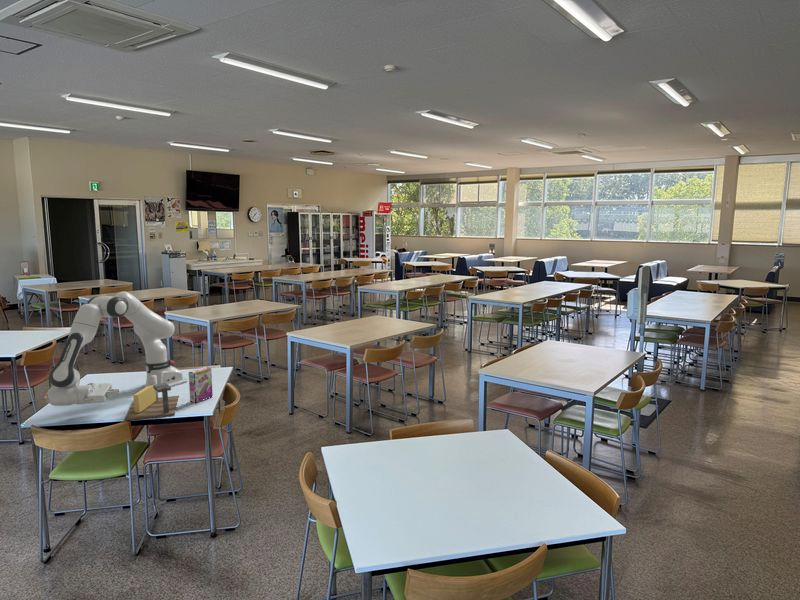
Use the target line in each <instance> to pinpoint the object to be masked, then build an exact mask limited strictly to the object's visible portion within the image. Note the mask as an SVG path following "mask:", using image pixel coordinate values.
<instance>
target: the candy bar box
mask: <svg viewBox="0 0 800 600" xmlns="http://www.w3.org/2000/svg"><path fill="white" fill-rule="evenodd" d="M212 376H213V375H212V367H207V366H204V367H201V368H197V369H194V370H190V371H188V383H189V384H188V386H189V402H190V401H192V402H191V403H193V402H197V403H199V402H198V401H200V402H202V401H201V400H203V399H206V398H209V397H212V396H213V382H212V381H213V380H212V379H213V377H212ZM212 398H213V397H212ZM209 399H210V398H209ZM206 400H207V399H206ZM203 401H204V400H203Z"/></svg>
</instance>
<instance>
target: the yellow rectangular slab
mask: <svg viewBox="0 0 800 600" xmlns="http://www.w3.org/2000/svg"><path fill="white" fill-rule="evenodd" d="M153 385H157V376H156V375H152V376H150V385H148V386H147V387H144V388H142V389H140V390H139V391H138V392H135V393H134V394H133V400H134V409H135V413H140V412H141V411H143V410H144V409H146V408H147V407H148V406H150V405H151V404H153V403H154V402H155V401H157V400H158V398H159V393H158V392H157V391H156V390H155V389H154V388H153Z"/></svg>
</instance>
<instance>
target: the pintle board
mask: <svg viewBox="0 0 800 600" xmlns="http://www.w3.org/2000/svg"><path fill="white" fill-rule="evenodd" d="M153 388H154V389H155V390H156V391H157V392H158V394H159V393H162V394H161V397H158V400H157V401H155V402H154V403H153V404H151V405H150V406H148V407H147V408H146V409H144V410H143V411H141V412H140V413H135V409H134V399H133V400H132V402H131V404H130V407H129V409H128V410H127V413H126V415H125V417H124V420H123V422H127V421H126V420H131V421H130V422H133V421H139V420H140V421H141V420H148V419H155V418H156V419H158V418H159V419H160V418H165V417H166V418H167V417H174V416H175V414H176V411H175V410H177V407H178V403H179V399H178V398H180V396H179V395H171V396H169V394H168V391H169V392H170V391H172V387H170V386H169V385H168V384H167V383H162V384H157V385H153ZM177 402H178V403H177ZM176 406H177V407H176Z"/></svg>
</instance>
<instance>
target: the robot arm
mask: <svg viewBox="0 0 800 600" xmlns="http://www.w3.org/2000/svg"><path fill="white" fill-rule="evenodd" d="M121 317H125V318H126V319H127V320H128V321H129V322H130V323H131V324H133V331H134V333H135V335H137V337H139V338H140V340H141V342H142V345H143V348H144V353H145V372H146V379H145V380H146V381H145V385H144V386H145V387H147V386H148V385H150V376H152V375H156V376H157V384H162V383H167V384H168V385H169V386H170V387H171V388H172V387H175V386H178V385H181V384H184V382H185V383H187V382H188V379H187V378H186V377H185V376H183V373H182V371H181V370H180V369H178V368H177V367H174V366H173V365H175V361H174V360H169V359H168V352H167V350H168V349H167V346H166V344H164V343H163V342H162V339H164V340H165V339H170V338H171V337H172V336H173V335H174V333H175V329H176V327H175V324H174V323H173V321H170V320H169V319H168V320H167V319H166V318H163V317H162V316H161V315H159V314H157V313H156V312H154V311H152V310H151V309H150V308H148V307H147V306H146V305H144V303H143V302H142V301H140V300H139V299H138V298H137V297H135V295H134V294H131V293H130V292H129V291H128V292H127V291H125V290H124V291H119V292H117V293H116V294H115V295H114V296H109V295H102V296H101V295H96V296H93V297H91V298H89V299H88V301H86V303H84V304H82V305H81V306H80V307H79V309H78V311H77V312H76V315H75V316H74V317H73V322H72V324H71V327H70V330H69V334H68V337H67V341H66V342H65V345H64V347H63V350H62V352H61V354H60V357H59V359H58V362H57V363H56V364H55V366H53V368H52V369H51V370H50V371H49V374H48V381H49V383H50V384H51V387H50V388H49V389H48V390H47V393H46V397H47V401H48V403H49V404H50V405H51V406H53V407H54V406H55V407H59V406H60V407H64V406H65V407H66V406H71V405H85V404H86V405H87V404H98V403H99V404H100V403H104V402H105V401H106V400H107V398H108V397H110V396H114V395H118V394H119V393H120V389H119V388H113V384H112V383H109V382H108V383H107V382H105V383H94V382H90V383H88V384H84V385H80V381H81V374H80V372H79V370H77V369H75V368H74V366H75V363H76V361H77V358H78V355H79V353H80V350H81V349H82V348H83V347H84V346H86V344H89V343H91V342H92V341H93V340H94V338H95V336H96V335H97V331H98V329H99V325H100V321H101V320H102V318H105V319H106V318H117V319H118V318H121ZM186 381H187V382H186ZM145 387H144V388H145Z"/></svg>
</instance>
